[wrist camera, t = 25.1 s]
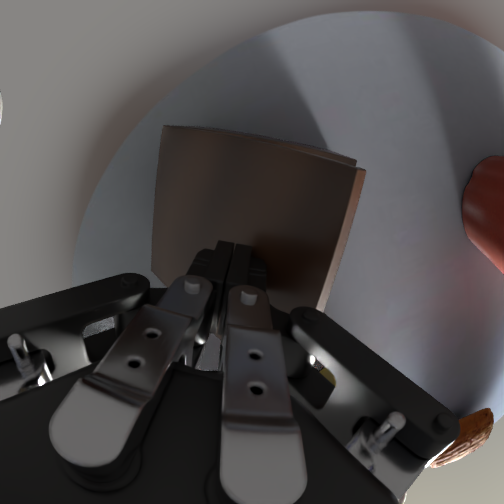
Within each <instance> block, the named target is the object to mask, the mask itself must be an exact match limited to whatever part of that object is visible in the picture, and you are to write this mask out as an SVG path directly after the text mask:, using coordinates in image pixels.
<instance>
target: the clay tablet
mask: <svg viewBox="0 0 504 504" xmlns="http://www.w3.org/2000/svg"><path fill="white" fill-rule="evenodd" d="M459 423H460V429H461V430H460V435H459V437H458V438H457V439H456V440H455V441H454V442H453V443H452V444H451V445H450V446H449V447H448V448H447V449H445V450H444V451H443V452H442V453H441V454H440V455H439V456H437V457H436V458H435V459H434V460H433V461H432V462H430V463H429V465H430V467H432V468H436V467H440V466H443V465H445V464H447V463H450V462H453V461H456V460H458V459H461V458H462V457H464V456H465V455H468V454H469V453H472V452H474V451H475V450H476V449H478V448H479V447H481V446H482V445H483V444H484V443H485V441H486V440H487V439H488V438H489V435H490V433H491V430H492V428H493V423H494V419H493V413H492V412H491V409H490V408H485V409H482V410H479V411H477V412H475V413H473V414H470V415H468V416H466V417H463V418H461V419H459Z"/></svg>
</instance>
